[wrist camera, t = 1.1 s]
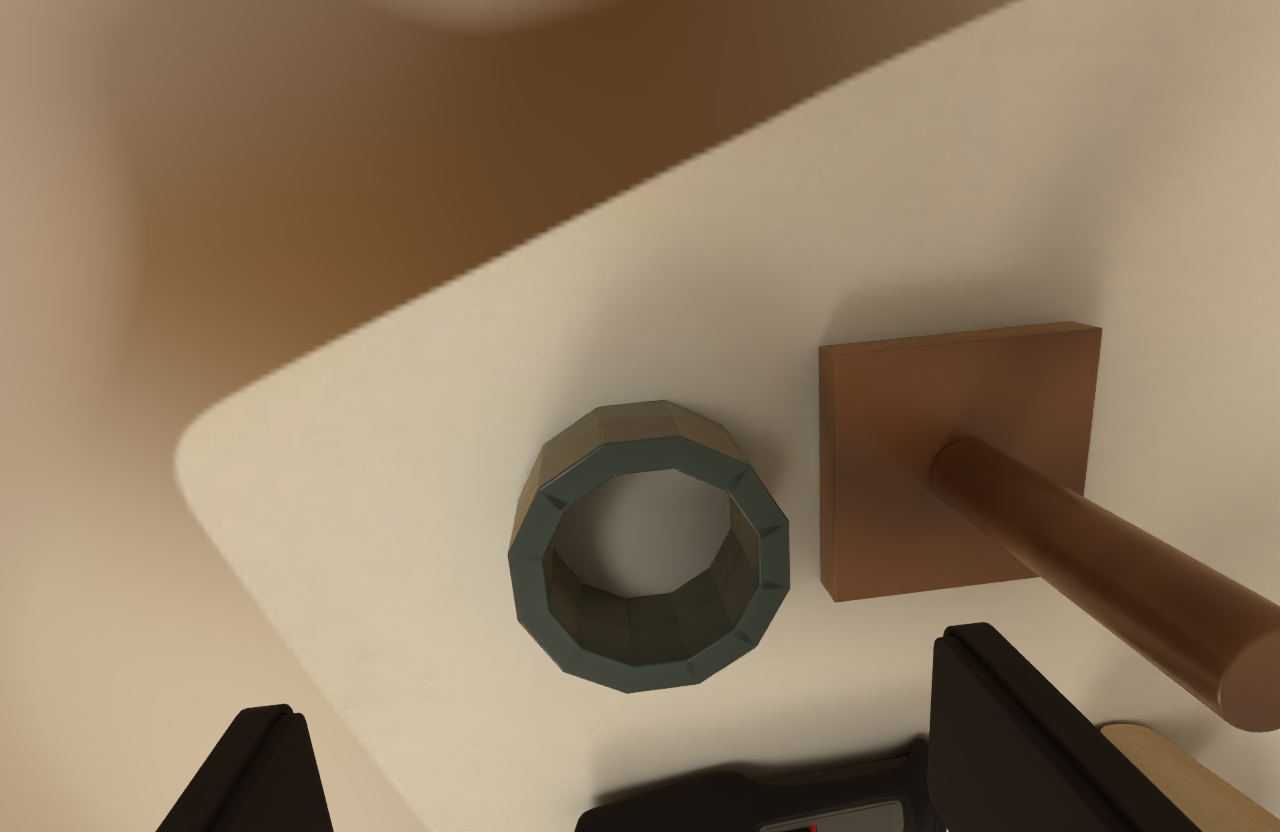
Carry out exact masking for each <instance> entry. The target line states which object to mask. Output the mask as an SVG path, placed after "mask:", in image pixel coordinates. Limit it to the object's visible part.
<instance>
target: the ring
mask: <svg viewBox="0 0 1280 832" xmlns="http://www.w3.org/2000/svg"><path fill="white" fill-rule="evenodd" d="M666 469H675V470H677V471H680V472H682V473H685V474H687V475H689V476H692V477H694V478H697V479H699V480H701V481H704V482H706V483H709V484H711V485H713V486H716V487H718V488H721V489H723V490H725V491H727V493H728V494H729V495H730V515H731V530H730V532H729V533H728V535H727V537H726V539H725V541H724V543H723V545H722V546H721V548H720V550H719V552H718V554H717V556H716V558H715V559H714V561H713V563H712V565H711V567H710V568H709V569H707V570H706V571H704V572H703V573H701V574H700V575H698V576H697V577H695V578H694V579H692V580H691V581H689V582H688V583H686V584H685V585H683V586H682V587H680V588H679V589H677V590H676V591H674V592H673V593H671V594H665V595H657V596H649V597H641V598H632V599H624V598H621V597H618V596H615V595H613V594H610V593H607V592H605V591H602V590H599V589H597V588H594V587H591V586H588V585H586V584H583V583H581V582H580V581H579V579H578V578H577V577H576V576H575V575H574V573H573V572H572V571H571V570H570V569H569V567H568V566H567V565H566V564H565V563H564V561H563V560H562V559H561V558H560V557H559V556H558V554H557V553H556V552H555V551H554V549H553V541H552V538H553V536H554V534H555V532H556V530H557V527H558V525H559V523H560V521H561V519H562V517H563V515H564V513H565V511H566V508H568V507H569V506H571V505H572V504H574V503H575V502H577V501H578V500H579V499H581V498H582V497H584V496H585V495H587V494H588V493H590V492H591V491H593V490H594V489H595V488H597V487H598V486H600V485H601V484H603V483H604V482H606V481H607V480H609V479H610V478H611V477H613V476H614V475H621V474H630V473H639V472H648V471H657V470H666ZM508 561H509V567H510V574H511V580H512V587H513V593H514V600H515V606H516V613H517V619H518V621H519V623H520V624H521V625H522V626H523V627H524V628H525V629H526V631H527V632H528V633H529V634H530V635H531V636H532V637H533V638H534V639H535V641H536V642H537V643H538V644H539V645H540V646H541V647H542V648H543V650H544V651H545V652H546V653H547V654H548V655H549V656H550V657H551V659H552V660H553V661H554V662H555V663H556V664H557V665H558V666H559V667H560V669H561V670H562V671H563V672H565V673H568V674H571V675H574V676H577V677H580V678H583V679H586V680H589V681H592V682H595V683H597V684H600V685H603V686H606V687H609V688H612V689H615V690H618V691H621V692H624V693H627V694H629V693H634V692H642V691H650V690H657V689H665V688H673V687H680V686H688V685H696V684H700V683H701V682H703V681H704V680H706V679H707V678H709V677H711V676H712V675H714V674H715V673H717V672H718V671H720V670H721V669H723V668H724V667H726V666H728V665H729V664H731V663H732V662H734V661H735V660H737V659H738V658H740V657H742V656H743V655H745V654H746V653H748V652H749V651H751V650H752V649H754V648H755V647H756V646H757V645H758V644H759V642H760V640H761V638H762V637H763V635H764V633H765V631H766V630H767V628H768V626H769V624H770V623H771V621H772V619H773V617H774V616H775V614H776V612H777V610H778V609H779V607H780V605H781V604H782V602H783V600H784V598H785V597H786V595H787V593H788V591H789V590H790V556H789V521H788V519H787V518H786V516H785V515H784V513H783V512H782V510H781V509H780V508H779V506H778V505H777V503H776V502H775V500H774V499H773V497H772V496H771V495H770V493H769V492H768V490H767V489H766V487H765V486H764V484H763V483H762V482H761V480H760V479H759V477H758V476H757V474H756V473H755V471H754V470H753V469H752V467H751V466H750V464H749V463H748V461H747V460H746V459H745V457H744V456H743V454H742V453H741V451H740V450H739V449H738V447H737V446H736V444H735V443H734V441H733V440H732V439H731V437H730V436H729V434H728V433H727V431H726V430H725V429H724V427H723V426H722V425H720V424H718V423H715V422H713V421H711V420H709V419H706V418H704V417H702V416H699V415H697V414H695V413H693V412H690V411H688V410H686V409H684V408H681V407H679V406H677V405H674V404H672V403H670V402H668V401H665V400H664V401H652V402H642V403H633V404H623V405H614V406H604V407H599V408H596V409H594V410H593V411H591V412H590V413H589V414H587V415H586V416H584V417H583V418H581V419H580V420H579V421H577V422H576V423H574V424H573V425H571V426H570V427H569V428H567V429H566V430H564V431H563V432H561V433H560V434H559V435H557V436H556V437H554V438H553V439H551V440H550V441H548V442H547V443H546V444H545V445H544V446H543V447H542V449H541V452H540V454H539V456H538V458H537V460H536V463H535V465H534V467H533V469H532V471H531V474H530V476H529V478H528V480H527V482H526V485H525V487H524V489H523V491H522V493H521V496H520V498H519V500H518V505H517V510H516V515H515V520H514V525H513V530H512V536H511V541H510V546H509V551H508Z"/></svg>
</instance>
